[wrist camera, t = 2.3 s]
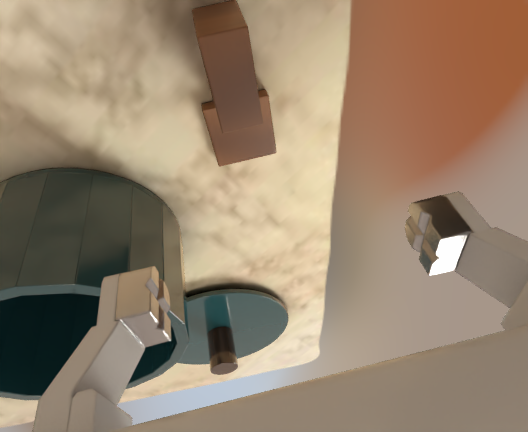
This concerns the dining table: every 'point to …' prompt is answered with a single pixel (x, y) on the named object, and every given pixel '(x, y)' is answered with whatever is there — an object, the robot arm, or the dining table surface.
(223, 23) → the brown stepped bar
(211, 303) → the lid
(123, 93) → the dining table surface
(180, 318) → the pot
